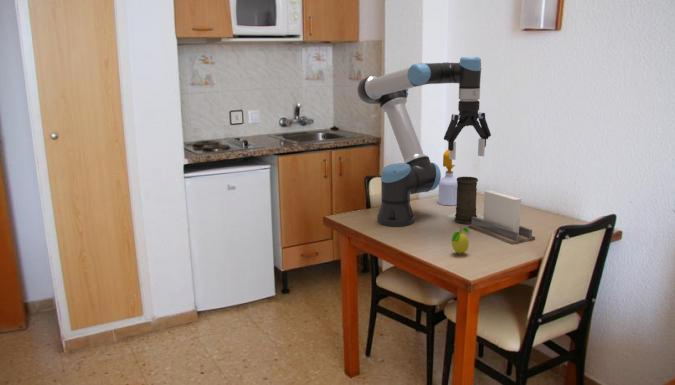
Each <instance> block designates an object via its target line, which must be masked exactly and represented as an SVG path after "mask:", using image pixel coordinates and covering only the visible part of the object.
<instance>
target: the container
mask: <svg viewBox="0 0 675 385" xmlns="http://www.w3.org/2000/svg"><path fill="white" fill-rule="evenodd" d="M456 179H457V184H458V185H457V205H456V206H455V214H454V216H455V217H454V222H455V223H457V224H460V225H461V224H462V225H470V224H472V217H477V216H478V215H477V190H478V189H477V187H478V186H477V185H478V182H479V179H478V178H477V177H474V176H458V177H457V178H456ZM477 218H478V217H477Z"/></svg>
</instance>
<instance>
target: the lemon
mask: <svg viewBox="0 0 675 385" xmlns="http://www.w3.org/2000/svg"><path fill="white" fill-rule="evenodd" d="M462 231H463V232H465V234H464V233H463V232H462ZM466 234H470V231H469V227H468V226H467V227H463V228H462V227H460V230H459V231H457V232H454V233H453V235H452V237H451V246H452V249H453V250H454V252H456V253H457V254H458V255H462V253H465V252H467V251H468V250H469V246H470V244H469V238H468V236H467V235H466Z"/></svg>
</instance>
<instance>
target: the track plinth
mask: <svg viewBox="0 0 675 385" xmlns="http://www.w3.org/2000/svg"><path fill="white" fill-rule="evenodd" d="M467 225H468V226H467V228H468V229H471V230H474V231H477V232H480V233H482V234H485V235H487V236H490V237H493V238H495V239H497V240H500V241H502V242H506V243H508V244H510V245H516V244H521V243H525V242H529V241H530V242H531V241H534V240H536V237H535V235H534V236H533V229H531V228H528V227H525V226H522V225H520V224H519V232H516V231H513V230H510V229H508V228H505V227H502V226H499V225H496V224H494V223H491V222H488V221H485V220H483V219H482V218H479V217H472V224H467ZM518 235H519V236H518Z"/></svg>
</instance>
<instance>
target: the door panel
mask: <svg viewBox="0 0 675 385" xmlns="http://www.w3.org/2000/svg"><path fill="white" fill-rule="evenodd" d="M521 204H522V198H520V197H519V198H518V197H516V196H512V195H509V194H506V193H502V192H499V191H495V190H491V189H490V190H485V191H484V200H483V219H482V220H485V221H488V222H491V223H494V224H496V225H499V226H502V227H505V228H508V229H510V230H513V231H516V232H519V225H520V222H521ZM518 236H519V235H518Z"/></svg>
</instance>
